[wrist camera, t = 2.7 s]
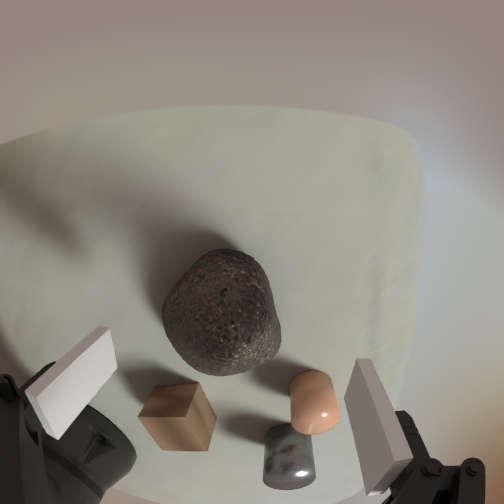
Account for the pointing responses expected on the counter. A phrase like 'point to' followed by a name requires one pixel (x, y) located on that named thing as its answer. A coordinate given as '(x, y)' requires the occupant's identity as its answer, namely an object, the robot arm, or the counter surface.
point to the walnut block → (179, 417)
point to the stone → (223, 315)
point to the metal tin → (288, 458)
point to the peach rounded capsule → (313, 403)
